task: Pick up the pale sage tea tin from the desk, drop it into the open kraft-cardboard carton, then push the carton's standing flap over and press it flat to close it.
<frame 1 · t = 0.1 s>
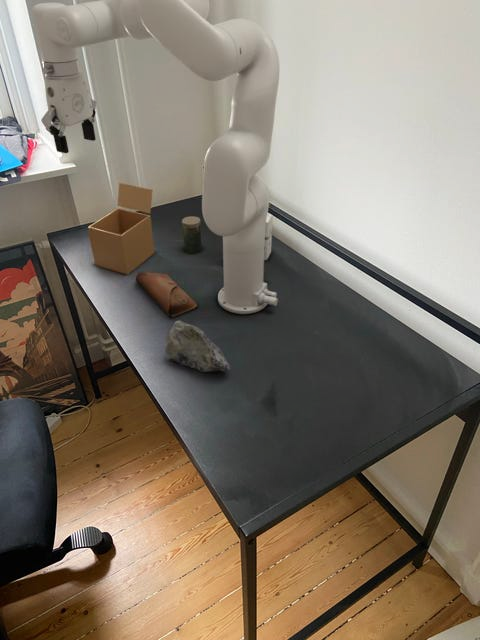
hand: (76, 145, 125), 31 cm above the table, tool pointing down, fingers open, 9 cm apart
flap: (134, 197, 140), point 15 cm above the table, hinge at 110.0°
ink box: (254, 255, 145), on the table
tea tin: (193, 249, 148), on the table
sunglasses case: (166, 296, 129), on the table
mineral rock: (197, 366, 109), on the table
carton: (125, 258, 143), on the table
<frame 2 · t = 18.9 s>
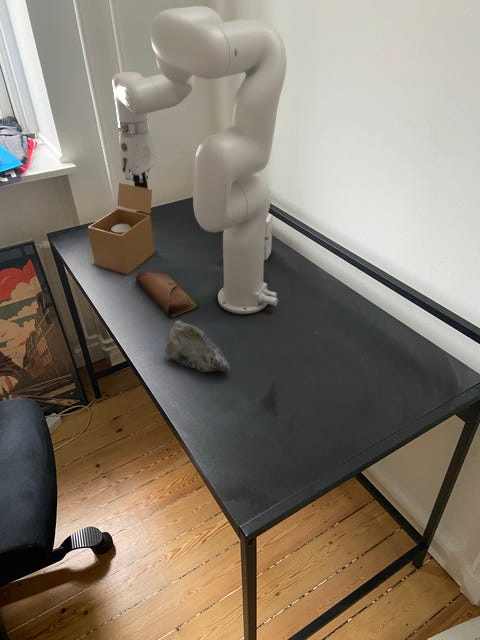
hand: (142, 194, 142), 15 cm above the table, tool pointing down, fingers closed
flap: (134, 197, 140), point 15 cm above the table, hinge at 108.8°, touching gripper
tea tin: (125, 257, 143), resting on carton
everything else where it was.
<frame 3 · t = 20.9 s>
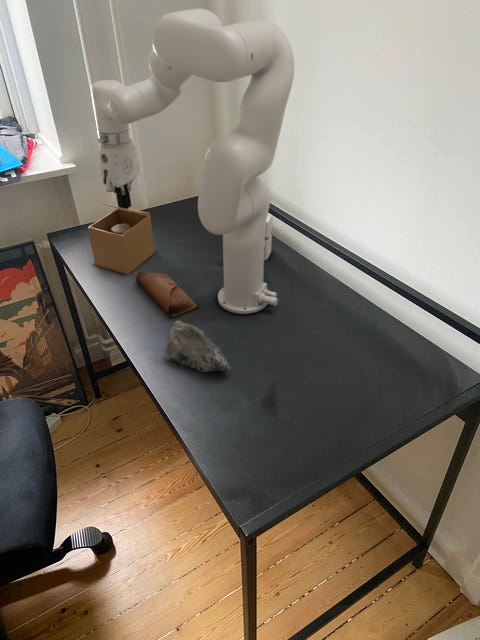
hand: (124, 206, 137), 14 cm above the table, tool pointing down, fingers closed
flap: (126, 208, 138), point 13 cm above the table, hinge at 27.4°
everything else where it was.
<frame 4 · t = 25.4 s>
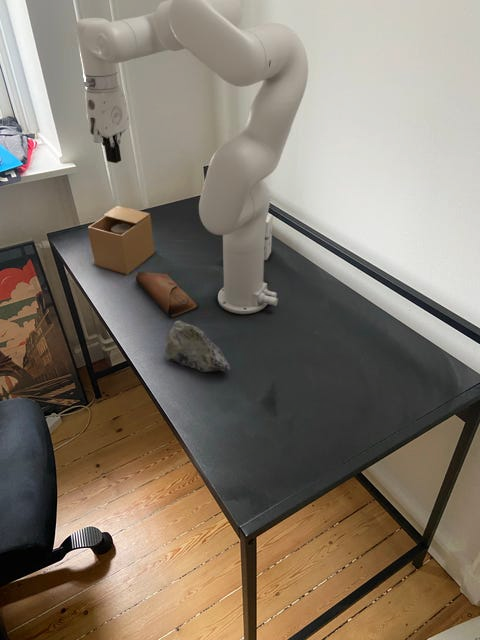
hand: (114, 161, 128), 27 cm above the table, tool pointing down, fingers closed
flap: (126, 214, 138), point 12 cm above the table, hinge at -0.6°
everything else where it was.
at the end: tea tin inside the target area in the carton (0.1 cm from its centre), point 0.4 cm above the carton's base; flap at -1° (first picture: +110°); the gripper is holding nothing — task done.
